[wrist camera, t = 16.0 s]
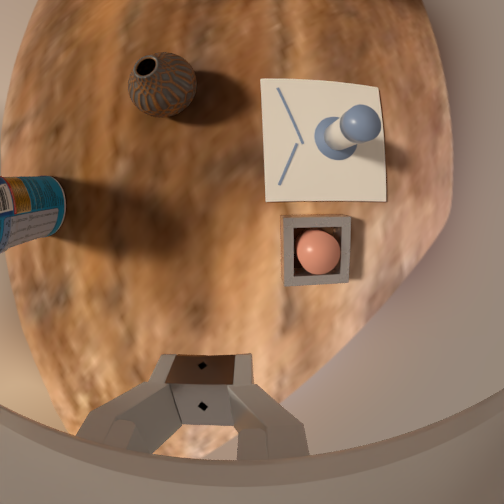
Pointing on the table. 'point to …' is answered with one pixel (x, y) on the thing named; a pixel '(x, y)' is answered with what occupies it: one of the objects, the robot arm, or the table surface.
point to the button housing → (288, 271)
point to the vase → (162, 84)
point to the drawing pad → (318, 143)
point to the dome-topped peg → (353, 128)
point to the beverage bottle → (29, 209)
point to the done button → (317, 250)
